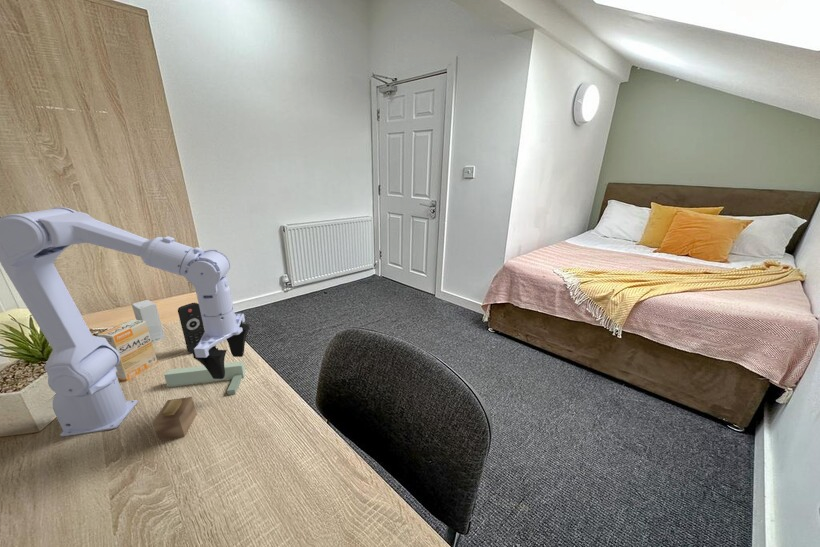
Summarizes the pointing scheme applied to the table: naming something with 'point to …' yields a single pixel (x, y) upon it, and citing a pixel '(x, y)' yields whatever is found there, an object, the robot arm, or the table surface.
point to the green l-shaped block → (206, 376)
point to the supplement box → (131, 348)
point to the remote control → (191, 325)
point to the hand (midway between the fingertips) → (229, 366)
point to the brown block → (175, 418)
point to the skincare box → (149, 318)
